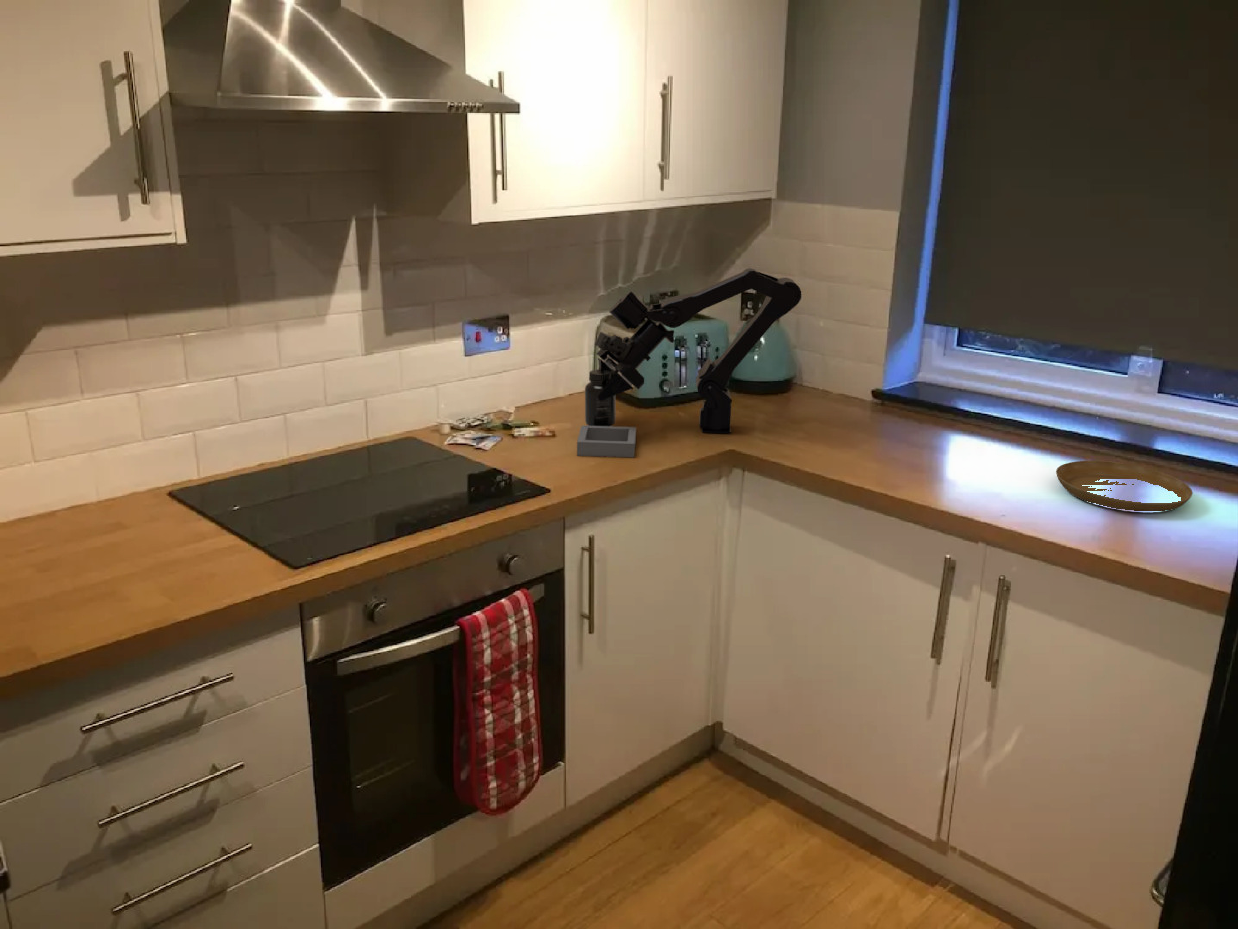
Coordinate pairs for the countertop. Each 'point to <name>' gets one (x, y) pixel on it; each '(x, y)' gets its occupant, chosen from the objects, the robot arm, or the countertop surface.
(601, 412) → the supplement bottle
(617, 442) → the holder
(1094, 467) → the plant saucer
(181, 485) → the countertop surface
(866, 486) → the countertop surface
